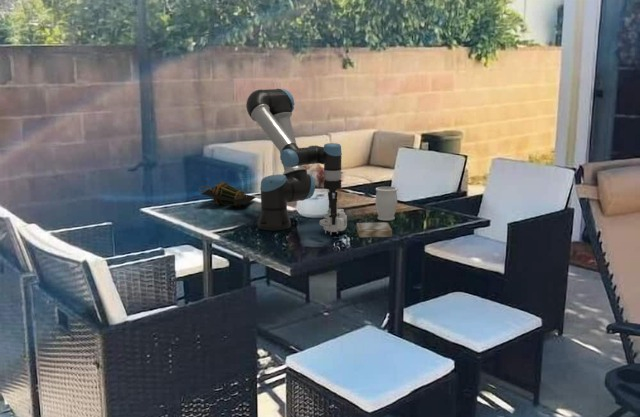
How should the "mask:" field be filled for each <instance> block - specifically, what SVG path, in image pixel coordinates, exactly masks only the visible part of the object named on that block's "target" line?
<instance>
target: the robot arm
mask: <svg viewBox="0 0 640 417" xmlns="http://www.w3.org/2000/svg"><path fill="white" fill-rule="evenodd" d="M294 106H295V99H294V96H293V95H292V93H291V92H290V91H289V90H287V89H284V88H273V89H257V90H254V91H252V92H251V93H250V94H249V95H248V97H247V100H246V106H245V107H246V111H247V114H248V116H249V117H250V118H251V120H252V121H254V122H255V123H257V124H258V125H259V127H260V129H262V130H263V132H264V133H265V134H266V136H267V137H268V138H269V139H270V141H271V142H272V143H273V145H274V146H275V147H276V149H277V150H278V152H279V155H280V156H279V157H280V158H279V159H280V162H281V164H282V167H283V173H282V174H279V173H278V174H272V175H271V174H270V175H267V176H265V177H263V178H262V179H261V182H260V188H259V189H260V204H261V205H260V206H261V207H260V209H261V210H260V214H259V217H258V219H257V220H258V221H257V228H258V229H259V230H263V231H271V232H272V231H284V230H287V229H290V228H291V227H292V221H291V217H290V215H289V213H288V208H287V207H288V203H292V202H298V201H300V202H301V201H302V202H303V201H305V200H309V199H311V198H312V197H313V196H314V194H315V191H316V180H315V177H314V176H313V175H312V174H310V173H308V170H307V168H305V167H304V166H308V165H315V164H319V165H320V164H321V165H323V179H324V180H323V188H324V189H325V190H328V191H327V198H328V209H329V208H331V215H329V217H330V232H332V233H337V209H338V205H337V202H338V192H337V191H336V190H340V189H342V180H341V179H342V174H344V172H343V171H342V153H343V152H342V146H341V144H340V143H337V142H336V143H333V142H331V143H329V142H327V143H324V145H323V146H321V145H320V146H319V145H309V146H308V147H299V146H298V145H297V140H296V137H295V133H294V129H293V125H292V121H291V117H292V115H293V111H294V109H295V107H294ZM330 232H329V233H330Z"/></svg>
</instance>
